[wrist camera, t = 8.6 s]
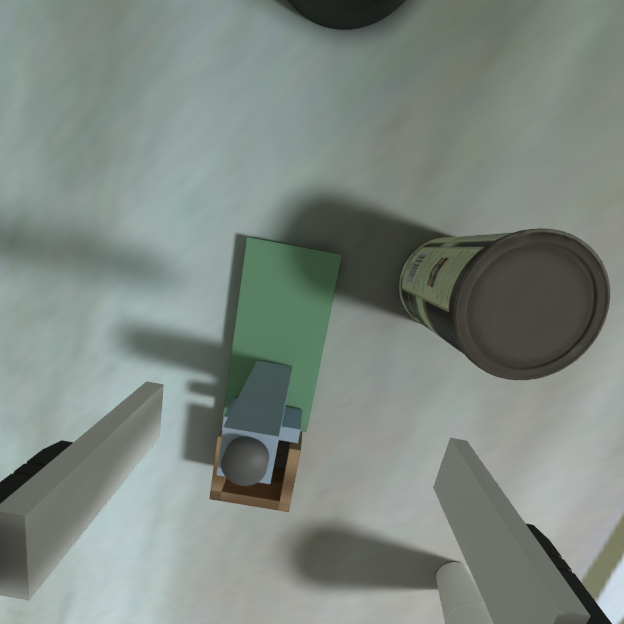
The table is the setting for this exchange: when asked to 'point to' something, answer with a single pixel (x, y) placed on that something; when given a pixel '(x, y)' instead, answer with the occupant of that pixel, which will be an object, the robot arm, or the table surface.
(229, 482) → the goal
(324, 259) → the plate
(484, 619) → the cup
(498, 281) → the coffee can
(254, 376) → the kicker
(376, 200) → the table surface
